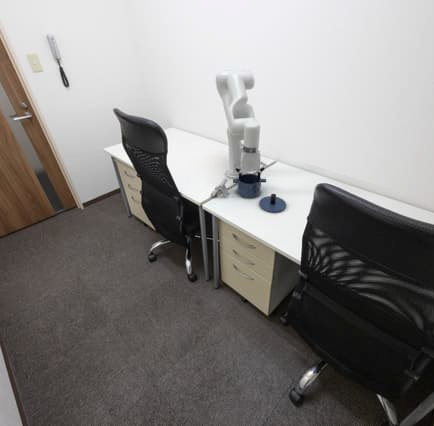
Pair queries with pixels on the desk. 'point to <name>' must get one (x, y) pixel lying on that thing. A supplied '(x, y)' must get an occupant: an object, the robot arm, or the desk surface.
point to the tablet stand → (221, 186)
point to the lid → (272, 203)
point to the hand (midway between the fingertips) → (249, 178)
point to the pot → (249, 185)
